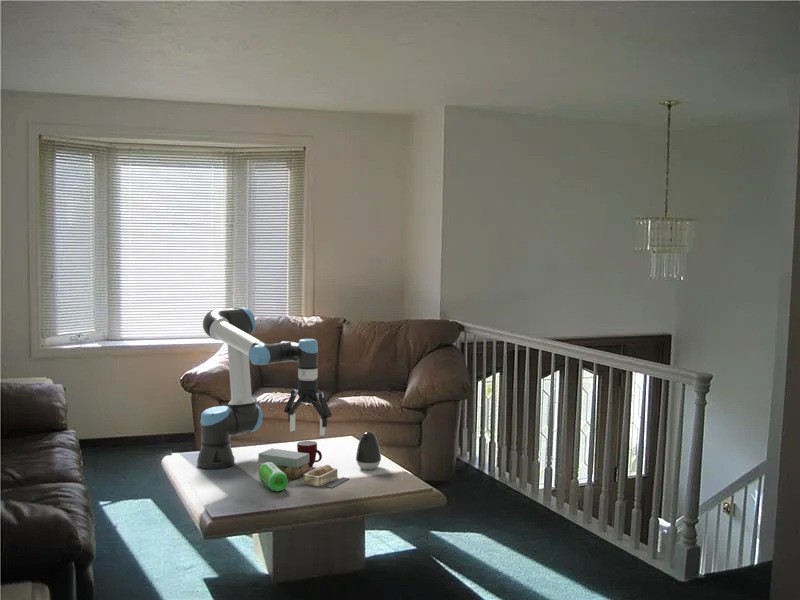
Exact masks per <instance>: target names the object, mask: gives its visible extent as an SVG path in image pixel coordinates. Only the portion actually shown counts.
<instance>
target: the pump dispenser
mask: <svg viewBox="0 0 800 600" xmlns="http://www.w3.org/2000/svg"><path fill="white" fill-rule="evenodd" d="M381 454H382V453H381V449H380V445H379V442H378V439H377V436H376V434H375V433H374V432H372V431H365V432H364V433H362V435H361V437H360V439H359V442H358V445H357V449H356V456H355V460H356V463H357V465H358V467H359V468H360V469H362V470H364V471H373V470H375V469H377V468H378V467H379V466H380V463H381V460H382V455H381ZM372 469H373V470H372Z"/></svg>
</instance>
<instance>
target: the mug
mask: <svg viewBox="0 0 800 600" xmlns="http://www.w3.org/2000/svg"><path fill="white" fill-rule="evenodd" d="M296 445H297V446H296V447H297V451H296V452H301V453H309V463H308V465H309V469H311V468H313V466H314V464H315V463H319V462H320V461H321V460H322V459H323V455H322V454H323V453H322V452H321V451H320V450H319V449H318V443H317V441H313V440H302V441H299V442H297V443H296ZM317 454H318V460H316V458H317Z"/></svg>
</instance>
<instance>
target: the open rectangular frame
mask: <svg viewBox="0 0 800 600" xmlns="http://www.w3.org/2000/svg"><path fill="white" fill-rule="evenodd" d="M323 466H324V465H321V466H318V467H315V468H314V469H312V470H310V471H308V472H307V473H305V474H303V476H302V477H303V480H302V481H303V484H305V485H308V486H315V487H316V486H317V487H322V486H324V485H326V484H328V483H330V482H333V481H334V480H336V479H337V478H338V468H335V467H332V469H333V470H331V471H329V472H327V473H325V474H323V475H321V476H314V475H309V473H310V472H312V471H314V470H316V469H319V468H321V467H323Z"/></svg>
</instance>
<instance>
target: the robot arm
mask: <svg viewBox="0 0 800 600" xmlns="http://www.w3.org/2000/svg"><path fill="white" fill-rule="evenodd" d="M255 317H256V316H255V315H254V313H253V312H252V311H251V309H249V308H247V307H240V306H239V307H225V308H214V309H211V310H210V311H208V312H207V313H206V315H205V316H204V318H203V320H202V329H203V331H204V333H205V334H206V335H207V336H208V337H210V338H211V339H212V340H214V341H215V340H216V341H222V342H223V343H225V344H227V357H228V358H227V359H228V371H229V383H230V384H229V385H230V398H231V399H230V401H229V402H228V404H227V405H218V406H212V407H209V408H206V409H205V410H203V411H202V413H201V414H200V431H201V432H200V443H201V445H200V446H201V447H200V449H199V454H198V457H197V459H196V461H197V462H196V465H197V467H198V466H199V467H198V468H200V467H201V469H205V468H207V470H208V469H209V470H217V469H224V468H229V467H232V466H234V465H235V456H234V453H233V449H232V447H231V438H232V437H235V436H240V435H244V434H250V433H253V432H257V430H259V428H260V427H261V425H262V422H263V411H262V409H261V406H259V405H258V404H257V403H256V400H255V398H253V396H252V395H253V394H252V385H251V370H250V362H251V364H252V365H254V366H264V365H270V364H276V363H277V364H279V363H286V362H293V363H294V362H295V363H298V365H297V371H298V373H297V378H298V380H297V388H298V389H297V388H295V389H293V390H291V391H290V397H289V399H288V401H287V403H286V405H285V407H284V409H283V412H284V413H286V414H288V421H287V422H288V423H289V431H290V432H291V433H292V432H294V431H296V413H295V412H296V411H297V410H298V408H299V407H300V405H301V404H305V403H307V404H311V405H312V406H313V407H314V408H315V410H316V411H317V413H318V415H319V416H320V419H319V436H321V437H322V436H324V435H326V428H327V425H328V418H332V412H331V410H330V407H329V405H328V403H327V400H326V395H325V392H318V388H319V387H318V385H319V384H318V383H319V382H318V378H319V376H318V374H319V372H318V370H319V369H318V366H319V365H318V364H319V363H318V361H319V344H318V340H317V339H314V338H301V339H299V340H298V342H295V341H291V340H282V341H281V342H278V343H266V342H264V341H262V340H260V339H258V338H257V337H255V336H253V335H252V334H253V333H254V332H255V329H256V327H257V322H256V318H255ZM297 396H298V398H297V400H296V397H297ZM295 400H296V402H295Z"/></svg>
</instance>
